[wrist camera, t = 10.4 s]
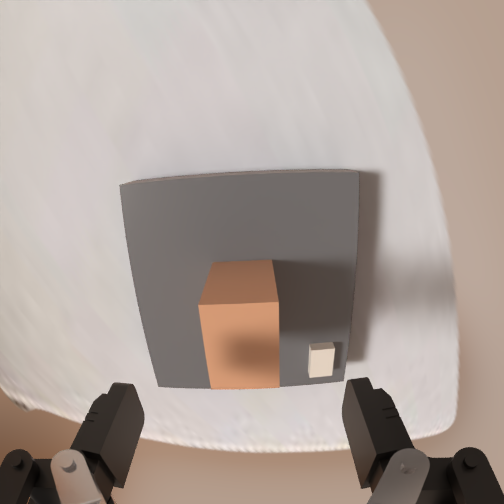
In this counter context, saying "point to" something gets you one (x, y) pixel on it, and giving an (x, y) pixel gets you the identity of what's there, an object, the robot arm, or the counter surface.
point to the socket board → (246, 249)
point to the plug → (241, 325)
